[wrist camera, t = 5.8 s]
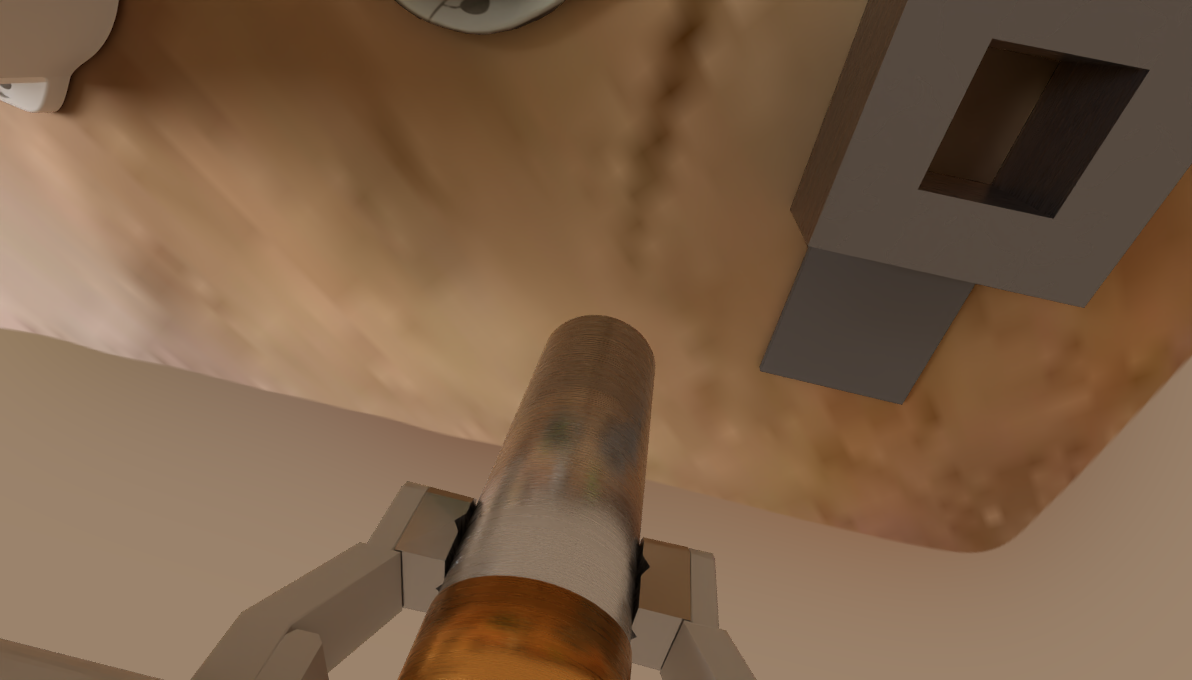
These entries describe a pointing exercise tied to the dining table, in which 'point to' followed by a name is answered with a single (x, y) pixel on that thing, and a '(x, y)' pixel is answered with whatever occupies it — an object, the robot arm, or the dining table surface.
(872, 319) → the mat
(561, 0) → the salad plate
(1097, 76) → the grey square block
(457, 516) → the robot arm
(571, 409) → the cylindrical container
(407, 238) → the dining table surface
